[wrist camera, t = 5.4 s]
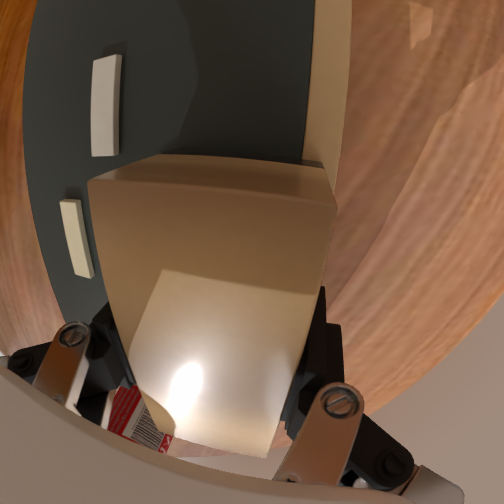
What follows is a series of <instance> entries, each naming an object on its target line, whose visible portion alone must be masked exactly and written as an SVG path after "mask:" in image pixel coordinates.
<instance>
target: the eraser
mask: <svg viewBox="0 0 504 504" xmlns="http://www.w3.org/2000/svg"><path fill="white" fill-rule="evenodd" d="M87 188H88V197H89V205H90V212H91V219H92V225H93V231H94V237H95V242H96V248H97V253H98V258H99V262H100V267H101V271H102V276H103V280H104V284H105V288H106V292H107V296H108V300H109V303H110V307H111V310H112V314H113V317H114V321H115V324H116V327H117V330H118V333H119V336H120V339H121V342H122V345H123V348H124V351H125V354H126V357H127V359H128V362H129V365H130V368H131V370H132V373H133V375H134V378H135V380H136V383H137V385H138V388H139V390H140V393H141V395H142V397H143V399H144V402H145V404H146V406H147V408H148V411H149V413H150V415H151V417H152V419H153V421H154V423H155V425H156V427H157V429H158V431H160V432H162V433H165V434H168V435H171V436H174V437H177V438H181V439H184V440H187V441H191V442H194V443H198V444H201V445H205V446H209V447H213V448H217V449H221V450H225V451H230V452H235V453H240V454H245V455H251V456H256V457H262V458H266V457H267V455H268V452H269V450H270V447H271V444H272V442H273V439H274V437H275V434H276V431H277V429H278V426H279V423H280V419H281V416H282V413H283V410H284V407H285V404H286V401H287V398H288V395H289V392H290V389H291V386H292V383H293V380H294V377H295V373H296V370H297V368H298V366H299V363H300V360H301V356H302V353H303V350H304V346H305V343H306V339H307V336H308V332H309V329H310V325H311V321H312V318H313V314H314V310H315V306H316V303H317V299H318V295H319V291H320V287H321V283H322V278H323V274H324V270H325V266H326V261H327V257H328V252H329V248H330V243H331V238H332V233H333V228H334V223H335V218H336V213H337V204H336V201H335V197H334V194H333V191H332V188H331V185H330V182H329V180H328V177H327V174H326V171H325V168H324V166H323V163H322V162H318V161H311V160H304V159H297V158H290V157H282V156H273V155H264V154H254V153H243V152H231V151H216V150H197V149H173V150H170V151H167V152H163V153H161V154H157V155H154V156H151V157H148V158H145V159H142V160H139V161H136V162H133V163H131V164H128V165H125V166H122V167H120V168H117V169H114V170H112V171H109V172H107V173H104V174H102V175H99V176H97V177H94V178H92V179H90V180H88V182H87Z"/></svg>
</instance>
